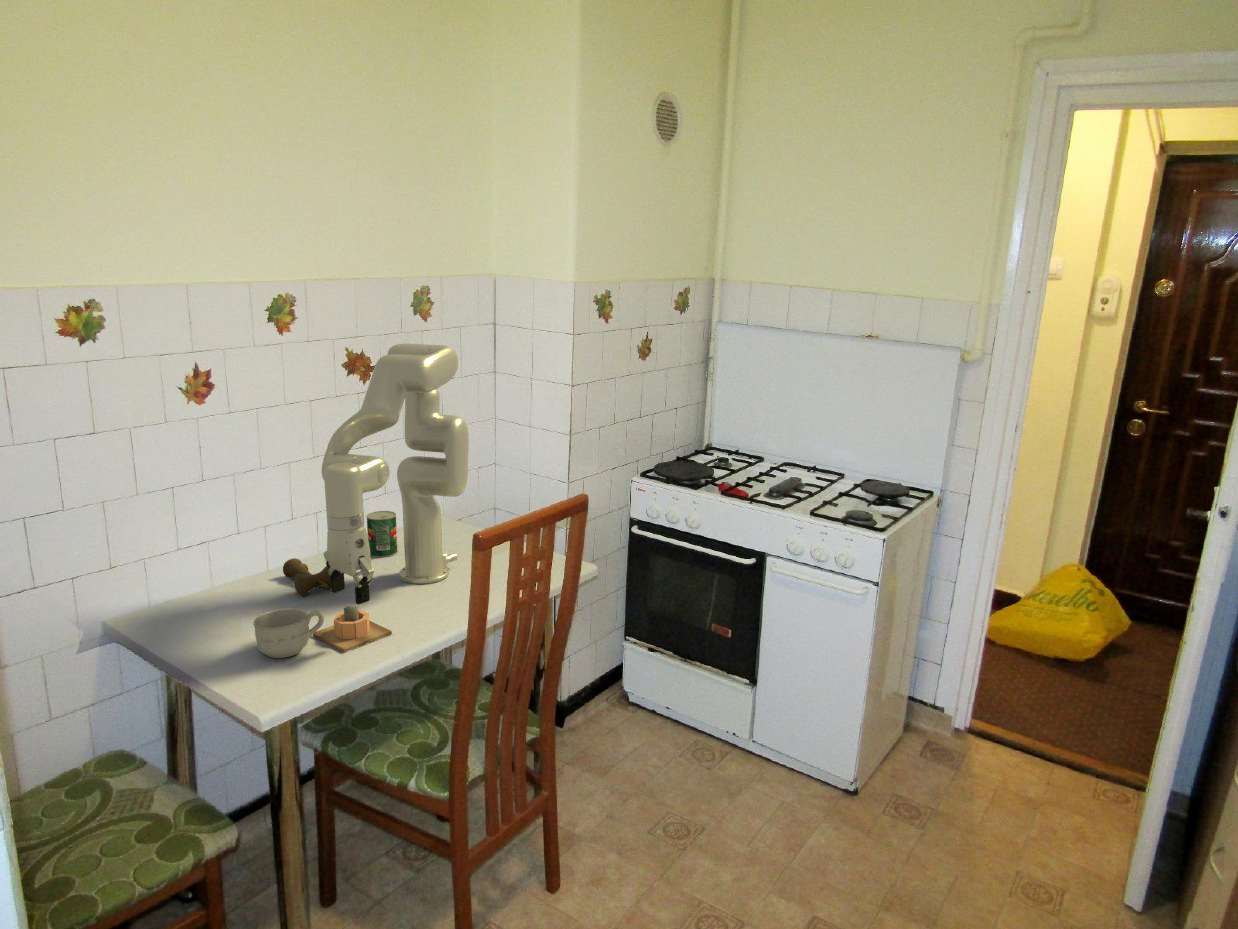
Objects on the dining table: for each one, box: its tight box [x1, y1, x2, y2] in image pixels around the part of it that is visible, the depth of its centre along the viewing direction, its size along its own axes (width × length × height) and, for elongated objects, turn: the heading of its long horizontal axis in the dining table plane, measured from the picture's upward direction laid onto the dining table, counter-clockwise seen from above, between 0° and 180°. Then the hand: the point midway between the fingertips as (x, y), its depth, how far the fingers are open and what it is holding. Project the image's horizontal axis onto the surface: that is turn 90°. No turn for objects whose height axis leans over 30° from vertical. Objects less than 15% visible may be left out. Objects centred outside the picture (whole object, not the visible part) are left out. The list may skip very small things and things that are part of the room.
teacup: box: [252, 608, 325, 659], centre depth 186 cm, size 14×11×8 cm
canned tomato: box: [366, 510, 399, 558], centre depth 244 cm, size 8×8×11 cm
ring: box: [333, 609, 370, 639], centre depth 194 cm, size 7×7×4 cm
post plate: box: [312, 605, 393, 654], centre depth 194 cm, size 12×12×6 cm
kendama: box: [282, 558, 331, 597], centre depth 221 cm, size 6×10×20 cm
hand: (350, 596), depth 192 cm, fingers open, 8 cm apart
